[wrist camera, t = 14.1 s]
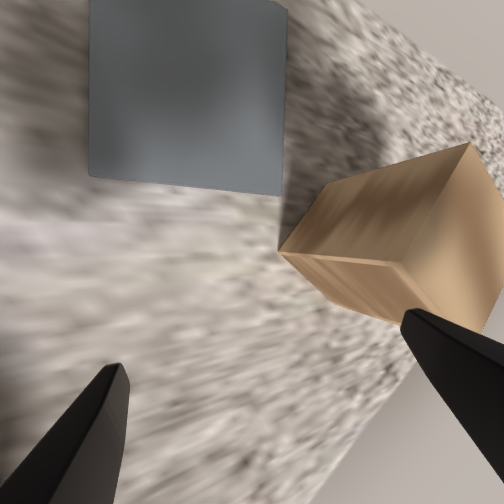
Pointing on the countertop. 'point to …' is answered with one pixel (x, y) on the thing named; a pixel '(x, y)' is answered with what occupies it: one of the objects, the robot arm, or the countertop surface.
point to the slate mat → (188, 93)
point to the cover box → (407, 239)
